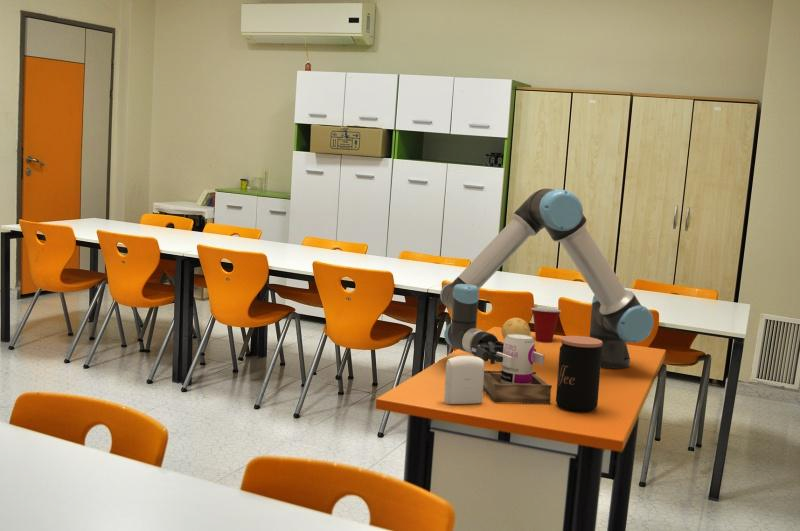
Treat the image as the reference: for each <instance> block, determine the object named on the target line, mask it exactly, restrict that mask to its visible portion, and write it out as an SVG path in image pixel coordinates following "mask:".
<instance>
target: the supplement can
mask: <svg viewBox="0 0 800 531" xmlns="http://www.w3.org/2000/svg"><path fill="white" fill-rule="evenodd" d="M503 343H504V347H503V354H506V355H508V356H511V357H513V361H512V367H507V366H505V365H502V364H501V370H500V371H501V382H500V384H531V381H532V372H533V367H534V362H533V359H534V349H536V347H535V346H536V343H535V341H534V337H533V336H531V335H530V336H528V335H523V334H508V335H507V337H506V338H505V340H504V339H503Z"/></svg>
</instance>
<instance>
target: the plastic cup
mask: <svg viewBox="0 0 800 531" xmlns="http://www.w3.org/2000/svg"><path fill="white" fill-rule="evenodd" d="M530 309H531V311H532V316H533V324H534V325H533V326H534V333H535V341H537V342H540V343H552V342H553V339H554V336H555V332H556V329H557V325H558V324H557V323H558V320H559V316H560V314H561V313H562V310H561V309H556V308H555V309H554V308H545V307H544V308H543V307H531V308H530Z"/></svg>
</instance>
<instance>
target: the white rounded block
mask: <svg viewBox="0 0 800 531" xmlns="http://www.w3.org/2000/svg"><path fill="white" fill-rule="evenodd" d="M484 362H485V361H483V360H482V359H481V358H479V357H477V356H476V357H475V356H473V355H457V356H454V357H451V358H448V359H447V360H446V363H445V379H444V394H443V395H444V397H443V398H444V399H443V401H444V404H446V405H464V404H465V405H466V404H482V403H483V398H484V396H483V394H484V390H483V381H484V371H485V363H484Z"/></svg>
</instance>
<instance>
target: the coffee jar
mask: <svg viewBox="0 0 800 531" xmlns="http://www.w3.org/2000/svg"><path fill="white" fill-rule="evenodd" d="M560 342H561V346H559V354H558V355H559V356H558V366H557V381H556V392H555V393H556V395H555V402H556V405H557V406H558V408H560V409H561V410H564V411H568V412H572V413H573V412H574V413H581V414H582V413H583V414H585V413H592V412H594V411H595V409H596V408H597V407H598V404H599V403H598V402H599V390H600V389H599V388H600V379H601V368H602V367H601V356H602V351H601V349H600V347H601V346H602V343H603V342H602V341H601V340H599V339H595V338H591V337H590V336H583V335H582V336H581V335H565V336H561V337H560Z"/></svg>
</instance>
